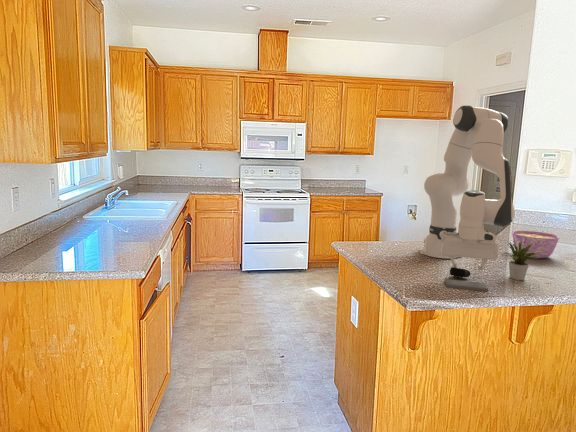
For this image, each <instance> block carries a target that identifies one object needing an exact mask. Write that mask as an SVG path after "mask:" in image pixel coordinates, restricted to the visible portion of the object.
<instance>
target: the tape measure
mask: <svg viewBox="0 0 576 432" xmlns="http://www.w3.org/2000/svg"><path fill="white" fill-rule="evenodd" d="M449 274H450V276H453V278H461V279H463V278H469V277H470V276H471V274H472V273H471V271H470V270H468V269H466V268H460V267H457V268H452V266H451V267H450V269H449Z"/></svg>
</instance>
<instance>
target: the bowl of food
mask: <svg viewBox="0 0 576 432" xmlns="http://www.w3.org/2000/svg"><path fill="white" fill-rule="evenodd" d="M511 233H512V234H511V235H512V243H513V242H514V243H515V245H516V246H517V248H518V251H519V242H521V240H522V239H523V240H522V245H521V249H523V248H526V247H527V246H528V245H529V244H531V243H534V244H532V245H531V247H530V248H529V249H528V250H529V251H528V250H527V251H528V252H527V251H526V252H527V253H536V254H535V255H531V256H530V257H534V258H535V259H546V258H548V257H551V256H552V255H553V253H554V252H555V249H556V247H557V245H558V242H559V239H560V236H559V235H556V234H553V233H548V232H541V231H534V230H514V231H512V232H511ZM530 241H531V242H530ZM528 242H529V243H528ZM514 243H513V244H514ZM525 244H526V245H525ZM524 245H525V246H524ZM523 246H524V247H523ZM536 246H537V247H536ZM533 247H534V248H533ZM527 253H526V254H527ZM524 256H525V255H524ZM524 256H523V257H524Z"/></svg>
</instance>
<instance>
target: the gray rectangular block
mask: <svg viewBox="0 0 576 432" xmlns="http://www.w3.org/2000/svg"><path fill="white" fill-rule="evenodd" d="M444 283H445V285H446V288H451V289H461V290H462V289H463V290H470V291H472V290H473V291H479V292H480V291H481V292H489V287H488V286H487V284H486V283H485V282H481V281H480V282H479V281H469V280H461V279H460V280H459V279H451V278H444Z"/></svg>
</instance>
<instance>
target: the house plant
mask: <svg viewBox="0 0 576 432" xmlns="http://www.w3.org/2000/svg"><path fill="white" fill-rule="evenodd" d="M522 240H523V239H522ZM522 240H521V242H519V251H518V248H517V246H516V245H515V243H514V242H513V239H510V241H509V242H508V248H509V249H510V250H511V252H512V254H510V253H509V252H503V253H502V254H504V255H506V256H509V257H511V258H512V259H513V260H509V261H508V269H509V278H510V279H513V280H516V281H524V280H525V279H526V274H527V271H528V268H529V263H528V262H526V261H527V260H529V261H531V262H532V260H535V261H537V258H534V257H530V256H531V255H535V254H536V253H527V252H528V251H529V250H528V249H529V248H530V247H531V245H532V244H534V243H531V244H529V245H528V246H527V247H526V248H523V249H521V245H522ZM499 241H502V240H499ZM511 241H512V242H511ZM530 242H531V241H530ZM528 243H529V242H528ZM525 245H526V244H525ZM525 245H524V246H525ZM524 246H523V247H524ZM536 247H537V246H536ZM533 248H534V247H533ZM527 250H528V251H527ZM526 251H527V252H526ZM526 253H527V254H526ZM524 255H525V256H524Z"/></svg>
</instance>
